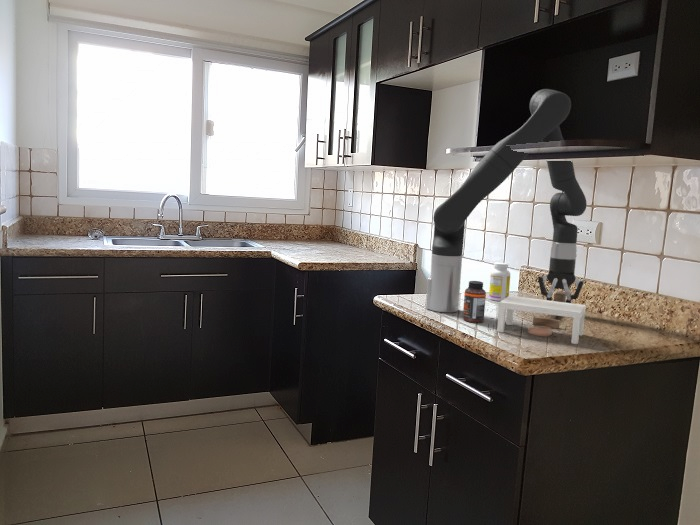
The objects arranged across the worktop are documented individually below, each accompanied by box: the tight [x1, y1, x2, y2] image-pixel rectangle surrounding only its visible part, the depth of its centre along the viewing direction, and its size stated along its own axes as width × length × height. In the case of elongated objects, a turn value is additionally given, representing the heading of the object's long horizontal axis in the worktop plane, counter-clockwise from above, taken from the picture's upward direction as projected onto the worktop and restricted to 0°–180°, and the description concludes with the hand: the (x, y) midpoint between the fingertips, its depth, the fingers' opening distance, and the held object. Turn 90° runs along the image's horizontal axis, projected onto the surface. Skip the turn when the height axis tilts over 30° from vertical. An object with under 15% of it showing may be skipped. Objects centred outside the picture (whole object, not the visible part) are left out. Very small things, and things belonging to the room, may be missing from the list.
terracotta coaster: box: [527, 325, 553, 337], centre depth 150 cm, size 6×6×2 cm
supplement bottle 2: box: [488, 262, 511, 302], centre depth 196 cm, size 7×7×13 cm
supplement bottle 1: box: [462, 280, 487, 324], centre depth 160 cm, size 6×6×11 cm
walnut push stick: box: [532, 290, 567, 329], centre depth 170 cm, size 7×29×6 cm, turn 152°
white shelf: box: [496, 295, 586, 345], centre depth 149 cm, size 20×12×8 cm, turn 62°
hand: (558, 310), depth 178 cm, fingers open, 4 cm apart
